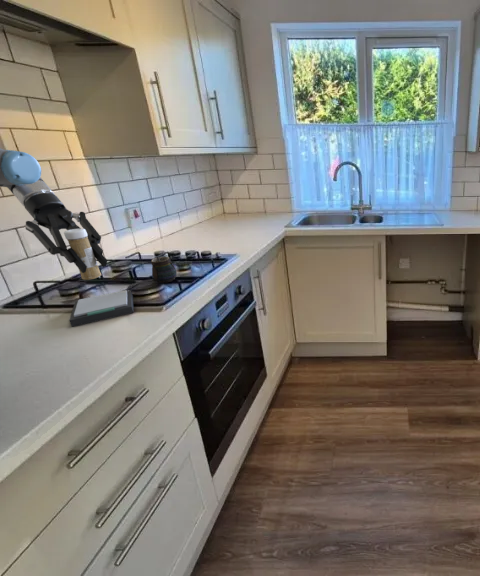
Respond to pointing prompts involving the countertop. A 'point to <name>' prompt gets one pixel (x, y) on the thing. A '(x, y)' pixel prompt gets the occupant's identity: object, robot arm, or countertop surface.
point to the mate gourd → (163, 270)
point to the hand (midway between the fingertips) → (95, 266)
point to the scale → (101, 307)
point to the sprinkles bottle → (83, 252)
